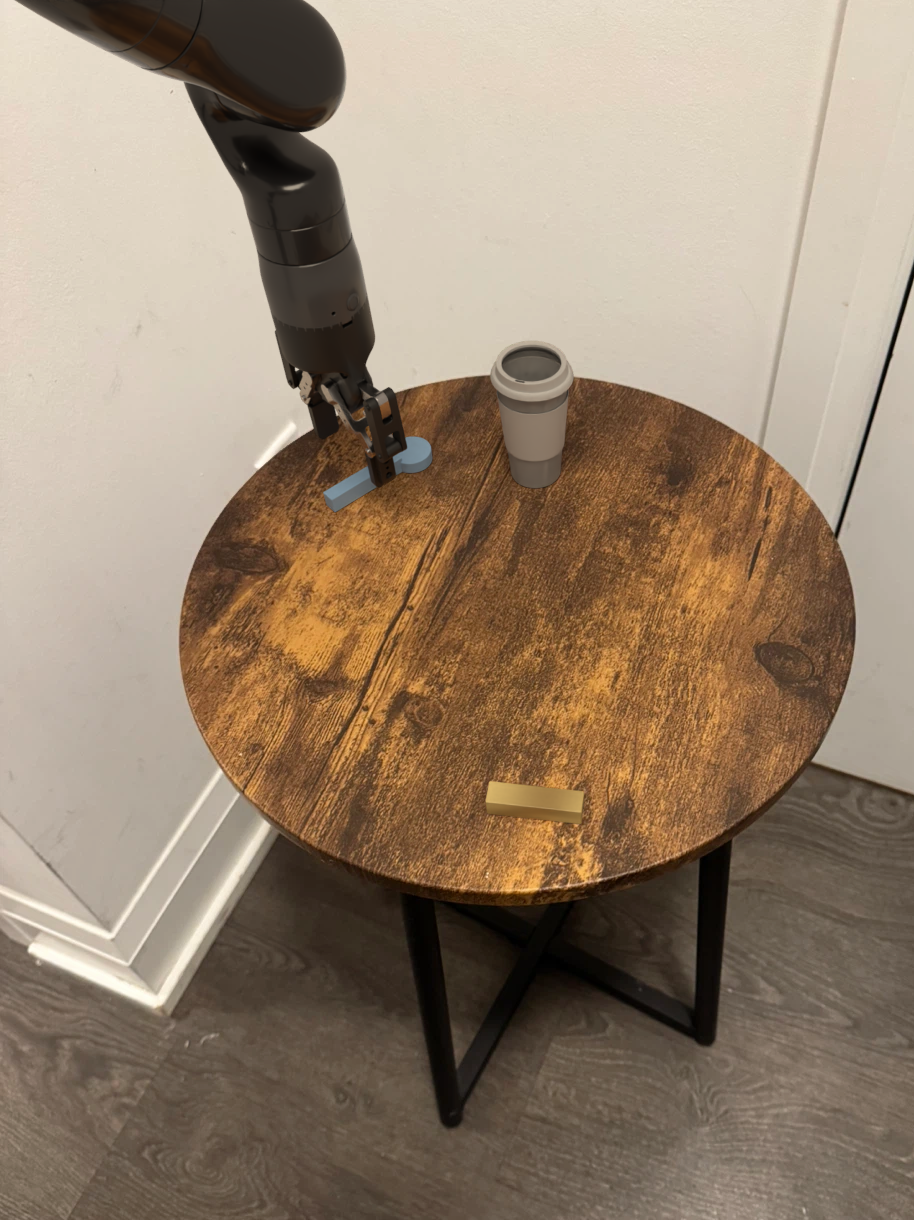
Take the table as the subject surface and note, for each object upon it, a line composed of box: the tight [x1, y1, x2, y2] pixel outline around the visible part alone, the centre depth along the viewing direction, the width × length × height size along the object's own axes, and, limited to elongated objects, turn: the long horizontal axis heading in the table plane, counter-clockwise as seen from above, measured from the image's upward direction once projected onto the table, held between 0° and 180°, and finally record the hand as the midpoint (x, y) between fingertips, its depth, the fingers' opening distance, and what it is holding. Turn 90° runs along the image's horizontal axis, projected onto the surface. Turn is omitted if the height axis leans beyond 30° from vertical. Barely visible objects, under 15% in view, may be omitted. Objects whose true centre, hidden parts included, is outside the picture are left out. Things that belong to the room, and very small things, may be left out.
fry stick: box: [484, 780, 585, 825], centre depth 76 cm, size 7×2×2 cm, turn 82°
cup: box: [489, 340, 575, 489], centre depth 92 cm, size 7×7×12 cm
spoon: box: [322, 436, 433, 513], centre depth 96 cm, size 11×4×2 cm, turn 132°
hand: (355, 457), depth 93 cm, fingers open, 8 cm apart
